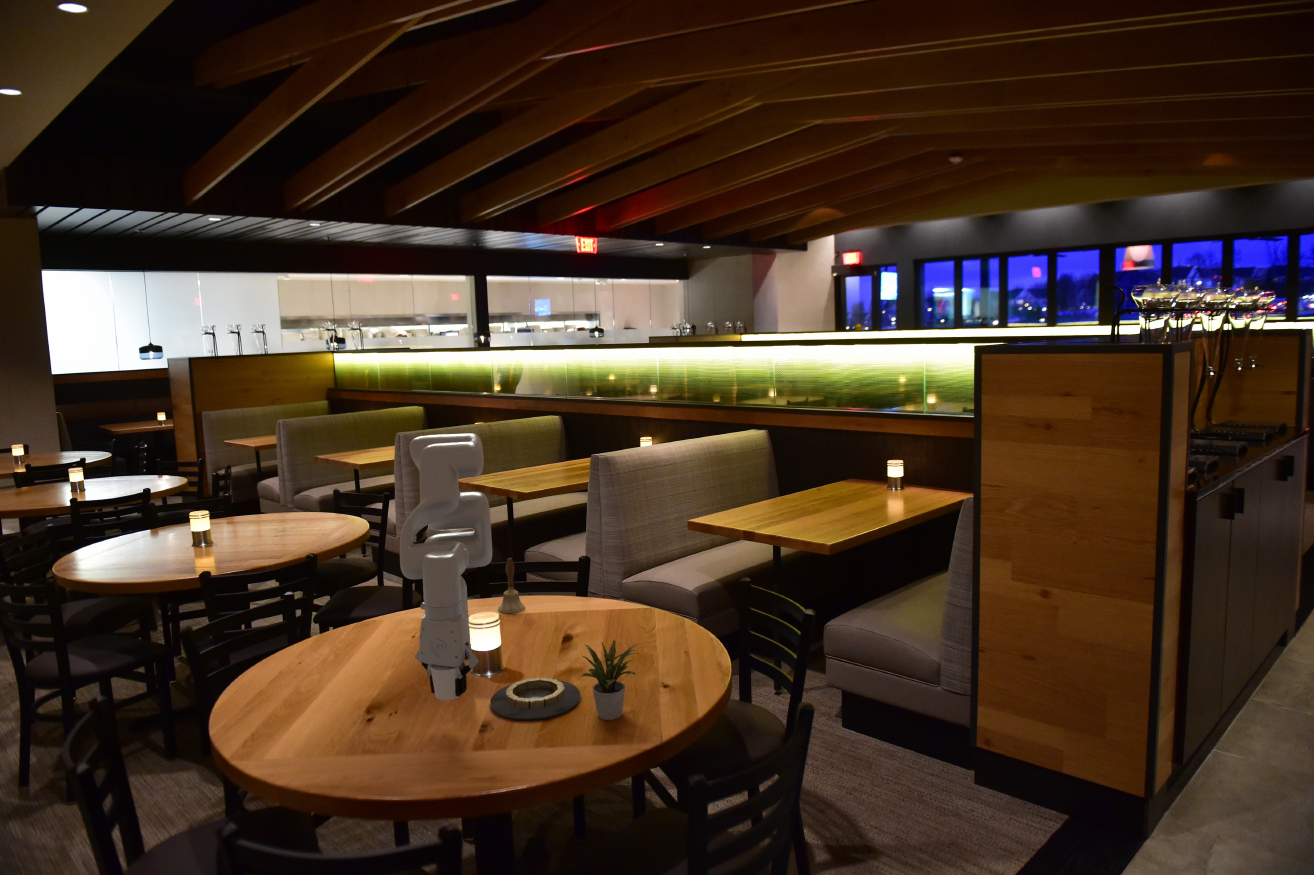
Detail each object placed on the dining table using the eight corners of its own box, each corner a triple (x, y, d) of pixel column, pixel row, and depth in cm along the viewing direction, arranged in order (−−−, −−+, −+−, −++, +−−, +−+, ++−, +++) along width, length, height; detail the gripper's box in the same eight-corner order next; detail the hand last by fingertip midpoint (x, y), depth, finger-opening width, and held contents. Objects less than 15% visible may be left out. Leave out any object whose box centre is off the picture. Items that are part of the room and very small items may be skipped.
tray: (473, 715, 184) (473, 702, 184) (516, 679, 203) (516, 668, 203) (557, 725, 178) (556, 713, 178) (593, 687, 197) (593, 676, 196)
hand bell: (529, 605, 260) (526, 554, 258) (519, 614, 252) (517, 562, 250) (503, 604, 262) (500, 554, 260) (493, 613, 254) (490, 561, 252)
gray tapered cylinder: (469, 687, 182) (468, 656, 181) (459, 702, 176) (457, 670, 175) (439, 687, 183) (437, 656, 182) (427, 701, 176) (425, 669, 175)
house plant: (651, 727, 176) (649, 651, 174) (585, 735, 173) (582, 659, 171) (638, 699, 190) (636, 629, 188) (577, 706, 187) (574, 635, 185)
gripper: (398, 612, 176) (404, 695, 178) (470, 620, 170) (475, 705, 173) (418, 600, 183) (424, 680, 185) (488, 607, 177) (493, 689, 180)
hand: (448, 691), depth 179 cm, fingers closed on gray tapered cylinder, 5 cm apart
